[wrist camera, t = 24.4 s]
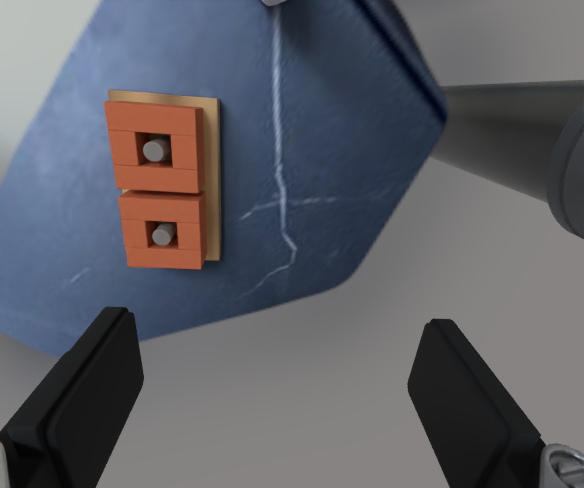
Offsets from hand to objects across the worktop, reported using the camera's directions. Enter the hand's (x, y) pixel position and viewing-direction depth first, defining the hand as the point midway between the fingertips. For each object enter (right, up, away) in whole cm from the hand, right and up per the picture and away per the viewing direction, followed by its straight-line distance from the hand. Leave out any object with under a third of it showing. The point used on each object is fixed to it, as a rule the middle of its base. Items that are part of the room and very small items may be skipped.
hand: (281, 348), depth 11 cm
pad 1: (-10, +11, +15) cm, 22 cm away
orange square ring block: (-10, +5, +18) cm, 22 cm away
